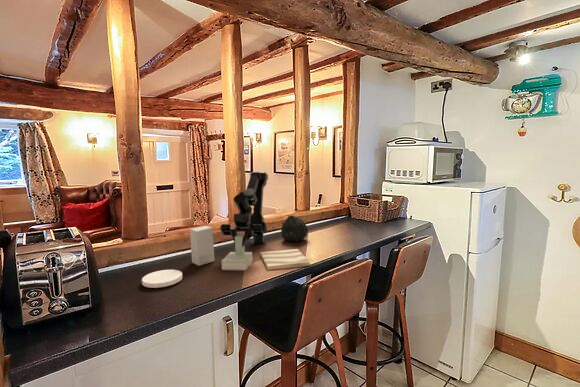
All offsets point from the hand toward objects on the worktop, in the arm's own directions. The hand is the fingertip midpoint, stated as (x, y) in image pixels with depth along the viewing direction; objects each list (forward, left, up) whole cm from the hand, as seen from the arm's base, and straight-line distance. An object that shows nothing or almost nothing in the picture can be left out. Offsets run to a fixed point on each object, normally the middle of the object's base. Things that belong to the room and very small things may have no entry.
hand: (238, 246), depth 135 cm
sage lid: (+2, -1, -5) cm, 5 cm away
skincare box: (-6, -16, -8) cm, 18 cm away
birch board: (+2, +19, -8) cm, 21 cm away
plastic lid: (+13, -30, -8) cm, 33 cm away
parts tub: (+2, -1, -8) cm, 8 cm away
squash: (-30, +32, -8) cm, 45 cm away
